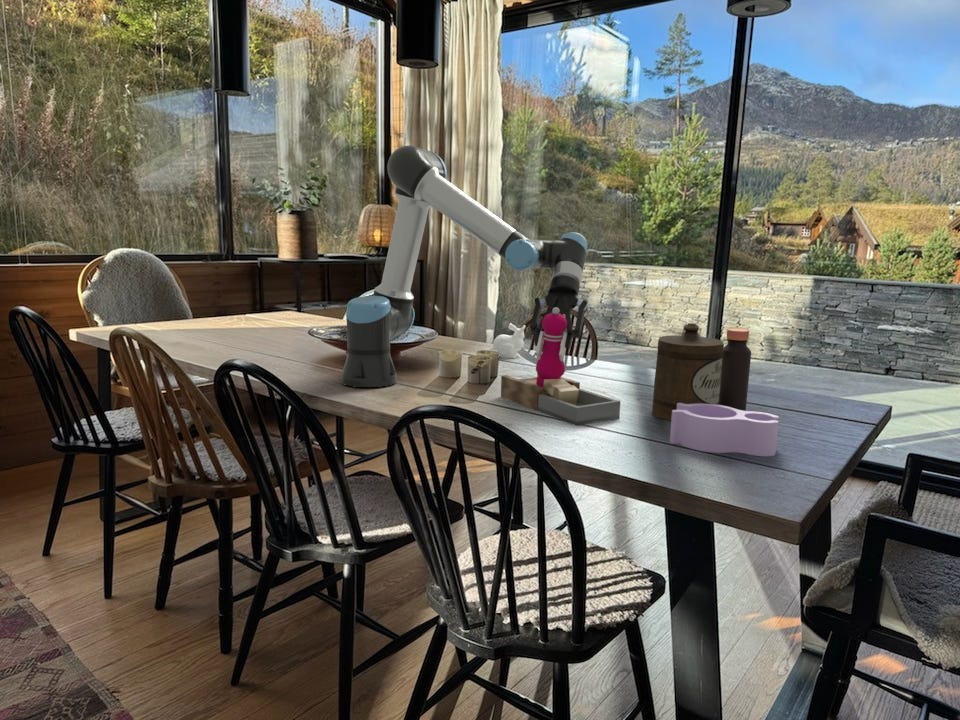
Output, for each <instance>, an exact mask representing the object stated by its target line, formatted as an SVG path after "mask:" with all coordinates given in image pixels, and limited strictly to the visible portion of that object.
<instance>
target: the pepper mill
mask: <svg viewBox="0 0 960 720" xmlns="http://www.w3.org/2000/svg"><path fill="white" fill-rule="evenodd" d="M559 312H560V310H559V308H557V307H555V308H553V309H552V313H550V314H548V315H546V316H545V317H544V316H543V317H544V319H543V321H542V327H543V329H544V330H545V332H544V333H543V334H544V336H543V338H544V344H543V349H542V353H541V357H540V359H537V361H536V365H535V371H536V373H538V375H539V376H538V377H537V376H536V377H537V382H536V384H537V386H540V387H543V385H544V379H561V378H560V377H563V375H565V372H566V366H565V364H566V363H565V361H560V356H559V353H560V348H561V343H562V339H563V334H564V333H565V331H567V321H566V318H565V315H564V314H561V313H559Z"/></svg>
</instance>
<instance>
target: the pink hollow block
mask: <svg viewBox="0 0 960 720" xmlns="http://www.w3.org/2000/svg"><path fill="white" fill-rule="evenodd" d="M779 422H780V416H778V415H776V414H772V413H768V412H761V411H751V410H750V411H749V410H746V411H743V410H738V409H735V408H732V407H728V406H723V405H716V404H702V403H698V404H684V403H677V410H672V417H671V421H670V432H669V433H670V435H669V443H670V444H673V445H675V444H679V445H682V446H684V447H686V448H688V449H691V450H696V451H699V452H705V453H706V452H707V453H714V454H715V453H717V454H721V453H722V454H725V453H727V454H728V453H741V454H745V455H750V456H758V457H774V456H776V451H777V443H778V442H777V441H778V434H779V433H778V432H779Z"/></svg>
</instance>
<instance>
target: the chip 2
mask: <svg viewBox="0 0 960 720" xmlns="http://www.w3.org/2000/svg"><path fill="white" fill-rule="evenodd" d="M578 393H579V389H578V388H576V387H575V386H574V385H569V386H558V387H556V388H555V393H554V397H553V398H556V399H559V400H561V401H564V402H567V403H570V404H573V405H576V402H577V397H578Z"/></svg>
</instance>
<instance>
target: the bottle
mask: <svg viewBox="0 0 960 720" xmlns="http://www.w3.org/2000/svg"><path fill="white" fill-rule="evenodd" d="M726 330H727V331H726V342H727V343H726V345H724V346H723V355H722V368H721V383H720V394H719V403H718V405H723V406H728V407H732V408H735V409H738V410H743V411H747V402H748V401H747V399H748V390H749V381H750V380H749V379H750V371H751V370H750V369H751V360H752V359H751V358H752V351H751V349H750V348H749V347H748V346H747V343H749V337H750V330H748V329H745V328H728V329H726Z"/></svg>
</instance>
